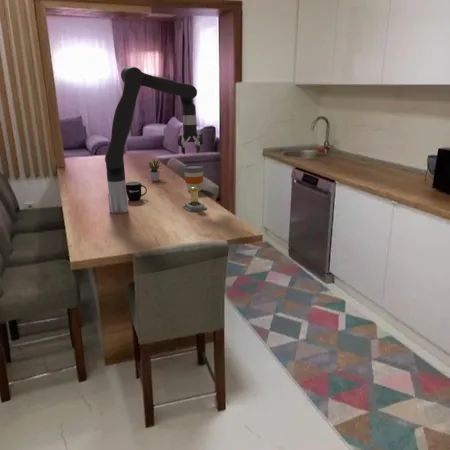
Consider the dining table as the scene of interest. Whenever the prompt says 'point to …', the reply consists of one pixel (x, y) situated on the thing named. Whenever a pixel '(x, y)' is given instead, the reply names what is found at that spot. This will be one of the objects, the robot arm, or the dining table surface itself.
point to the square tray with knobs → (194, 207)
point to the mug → (134, 190)
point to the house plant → (154, 169)
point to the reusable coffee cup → (194, 176)
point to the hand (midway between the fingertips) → (190, 153)
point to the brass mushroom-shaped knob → (194, 195)
